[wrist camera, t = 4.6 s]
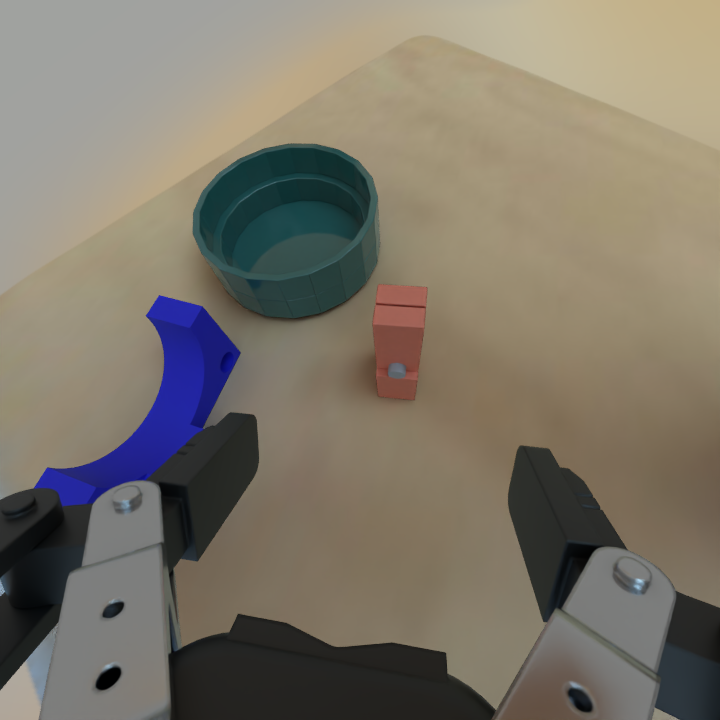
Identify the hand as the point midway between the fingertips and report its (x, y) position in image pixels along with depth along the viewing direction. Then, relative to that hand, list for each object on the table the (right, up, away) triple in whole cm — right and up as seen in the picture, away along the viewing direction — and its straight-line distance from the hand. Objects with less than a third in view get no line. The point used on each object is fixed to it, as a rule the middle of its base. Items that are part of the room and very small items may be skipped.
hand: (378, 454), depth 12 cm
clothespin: (+2, +2, +14) cm, 14 cm away
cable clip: (-12, -2, +14) cm, 18 cm away
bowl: (-5, +12, +19) cm, 23 cm away
